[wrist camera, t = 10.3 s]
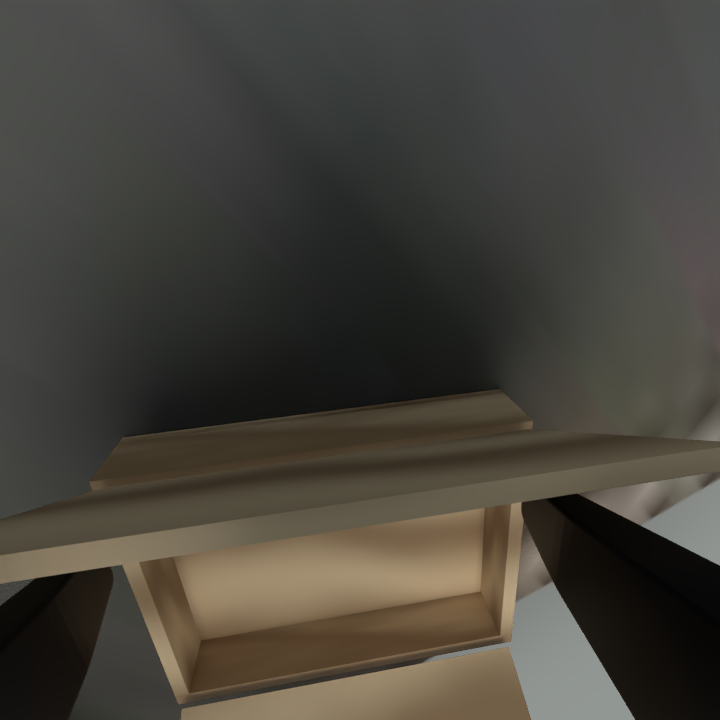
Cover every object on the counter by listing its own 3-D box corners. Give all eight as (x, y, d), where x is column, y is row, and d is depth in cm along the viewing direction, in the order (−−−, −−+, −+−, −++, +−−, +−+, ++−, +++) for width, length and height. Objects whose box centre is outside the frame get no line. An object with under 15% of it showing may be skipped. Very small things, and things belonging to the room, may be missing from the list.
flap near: (751, 466, 7) (745, 443, 7) (-220, 617, 6) (-218, 588, 6) (529, 440, 15) (527, 429, 15) (98, 501, 14) (98, 489, 14)
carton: (487, 590, 23) (511, 641, 20) (193, 642, 21) (178, 704, 19) (500, 388, 18) (533, 420, 15) (122, 437, 16) (88, 481, 14)
